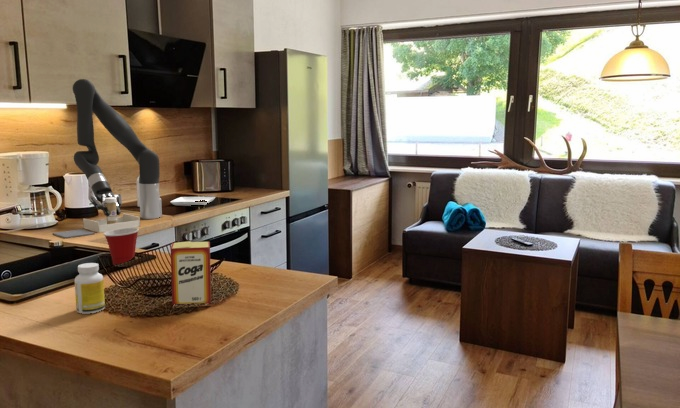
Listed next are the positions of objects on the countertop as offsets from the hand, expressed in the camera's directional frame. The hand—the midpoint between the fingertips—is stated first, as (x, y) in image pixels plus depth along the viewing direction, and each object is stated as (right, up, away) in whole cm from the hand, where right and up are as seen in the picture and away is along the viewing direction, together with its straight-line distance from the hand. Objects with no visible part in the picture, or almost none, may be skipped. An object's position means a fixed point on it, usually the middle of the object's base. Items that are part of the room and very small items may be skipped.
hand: (113, 214), depth 235 cm
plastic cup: (+29, -16, -61) cm, 70 cm away
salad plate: (+14, +4, +76) cm, 77 cm away
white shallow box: (-2, -6, +2) cm, 6 cm away
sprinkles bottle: (-2, -6, +2) cm, 7 cm away
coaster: (-11, -8, -13) cm, 19 cm away
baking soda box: (+62, -22, -97) cm, 117 cm away
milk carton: (-9, +3, +64) cm, 65 cm away
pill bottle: (+38, -22, -103) cm, 112 cm away
